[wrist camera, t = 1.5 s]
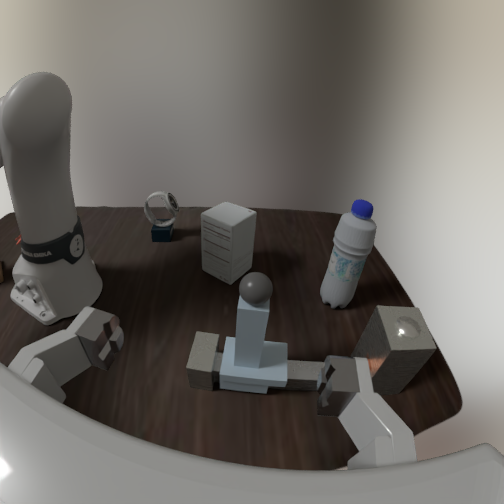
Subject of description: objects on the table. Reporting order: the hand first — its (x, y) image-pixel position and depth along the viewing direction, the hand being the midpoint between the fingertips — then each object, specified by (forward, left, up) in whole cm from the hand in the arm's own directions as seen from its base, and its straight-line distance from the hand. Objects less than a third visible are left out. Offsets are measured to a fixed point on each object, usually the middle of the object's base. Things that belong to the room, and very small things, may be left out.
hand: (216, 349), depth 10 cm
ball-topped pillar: (+2, +14, -24) cm, 28 cm away
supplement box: (-5, +38, -25) cm, 46 cm away
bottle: (+16, +32, -25) cm, 44 cm away
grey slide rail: (+9, +15, -25) cm, 31 cm away
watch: (-22, +48, -25) cm, 59 cm away
